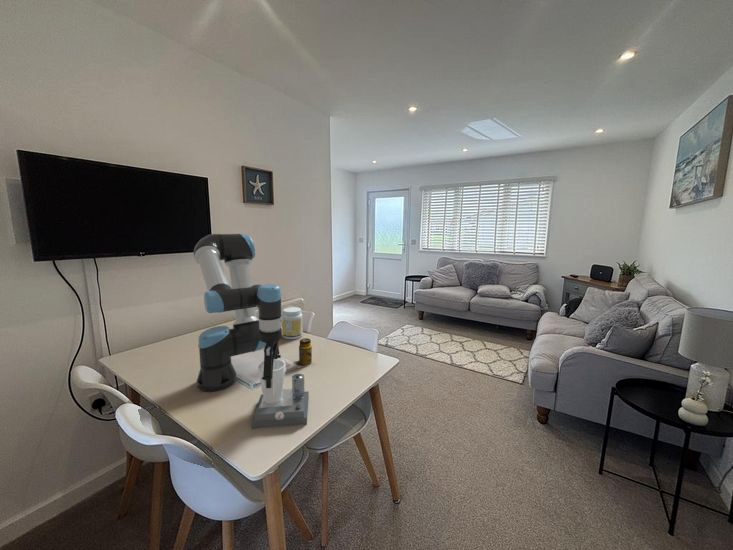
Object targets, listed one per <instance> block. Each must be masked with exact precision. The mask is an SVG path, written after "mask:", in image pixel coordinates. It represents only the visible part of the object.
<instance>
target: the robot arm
mask: <svg viewBox="0 0 733 550" xmlns="http://www.w3.org/2000/svg"><path fill="white" fill-rule="evenodd" d="M193 258H194V260H195V262H196V264H198V265H199V267H200V270H201V275H202V277H203V280H204V283H205V286H206V289H207V291H206V292H204V294H203V302H204V303H203V304H204V309H205V310H206V313H208V314H213V313H214V314H216V313H225V312H230V311H234V315H235V321H234V322H232V323H233V324H232V328H230V327H229V326H227V325H219V326H214V327H211V328H207V329H206V330H204V331H202V332H201V333H200V334H199V335H198V344H197V347H198V350H199V351H198V352H199V364H200V369H199V372H198V376H197V378H196V388H197V389H198V390H199V391H203V392H207V393H208V392H218V391H220V390H224V389H227V388H229V387H231V386H232V385H234V384H235V383H236V382H237V380H238V379H237V372H236V369H235V368H234V365H233V363H232V357H235V356H239V355H244V354H248V353H255V352H257V351H260V350H263V356H264V357H263V362H264V372H263V377H262V379H263V380H265V396H274V385H273V376H272V375H273V362H274V359H281V357H282V356H281V354H280V349H279V342H280V341H281V340H282V339H283V335H282V322H283V319H282V292H281V287H280V286H279V285H278V284H273V283H272V284H270V283H269V284H253V283H252V277H251V276H252V275H251V268H250V265H251V263H252V262H253V259H255V258H256V248H255V244H254V241H253V239H252V237H251V236H250V235H249V234H246V233H244V234H243V233H212V234H207V235H205V236H204V237H202V238H200V239H199V241H198V242H197V243H196V244H195V246H194V248H193ZM221 261H224V265H225V266H226V267H227V268H228V269H229V277H230V282H229V278H228V276H227V274H226V272H225V269H224V267H223V265H222V262H221ZM256 308H258V317H257V312H256Z"/></svg>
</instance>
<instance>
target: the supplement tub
mask: <svg viewBox="0 0 733 550" xmlns="http://www.w3.org/2000/svg"><path fill="white" fill-rule="evenodd" d="M282 311H283V312H282V314H281V319H283V322H281V324H282V327H281V329H282V338H284V339H285V340H298V339H300V338H301V337H302V336H303V334H304V328H303V327H304V324H303V321H304V320H303V318H304V317H303V313H302V309H301V307H297V306H291V307H286V308H284V309H283V310H282Z"/></svg>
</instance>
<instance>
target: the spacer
mask: <svg viewBox="0 0 733 550" xmlns="http://www.w3.org/2000/svg"><path fill="white" fill-rule="evenodd" d="M304 388H305V375H304V374H302V373H296V374H293V375H292V376H291V389H292V398H293V399H294V400H301V399H303V398H304Z"/></svg>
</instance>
